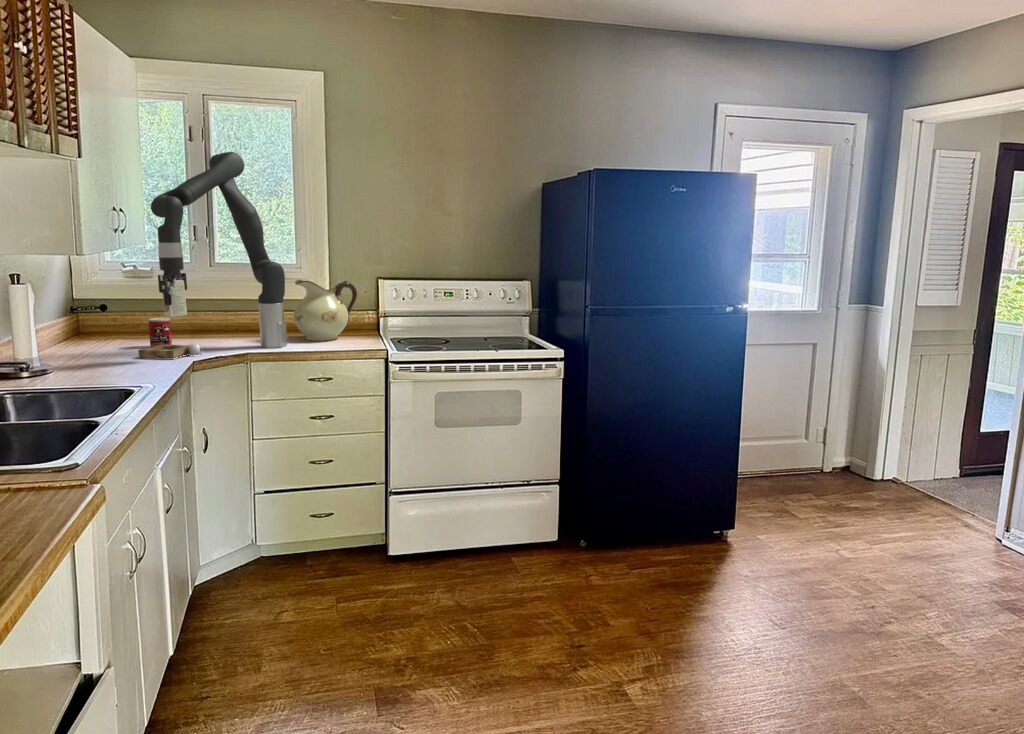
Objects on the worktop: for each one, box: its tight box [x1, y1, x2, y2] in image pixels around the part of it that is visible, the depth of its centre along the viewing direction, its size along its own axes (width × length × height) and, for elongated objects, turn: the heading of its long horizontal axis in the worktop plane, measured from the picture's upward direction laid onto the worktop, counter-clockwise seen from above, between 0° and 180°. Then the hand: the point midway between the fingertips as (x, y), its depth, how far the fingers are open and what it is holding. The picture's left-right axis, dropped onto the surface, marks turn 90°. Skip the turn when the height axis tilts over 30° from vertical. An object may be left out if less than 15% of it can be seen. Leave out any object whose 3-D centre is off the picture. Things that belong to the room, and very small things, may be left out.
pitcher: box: [293, 279, 358, 342], centre depth 317 cm, size 22×24×25 cm
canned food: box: [148, 317, 173, 347], centre depth 292 cm, size 8×8×11 cm
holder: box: [138, 344, 190, 359], centre depth 271 cm, size 13×14×3 cm
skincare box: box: [162, 279, 188, 318], centre depth 259 cm, size 6×4×12 cm
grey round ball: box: [188, 343, 201, 356], centre depth 272 cm, size 4×4×4 cm
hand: (174, 304), depth 259 cm, fingers closed on skincare box, 7 cm apart
